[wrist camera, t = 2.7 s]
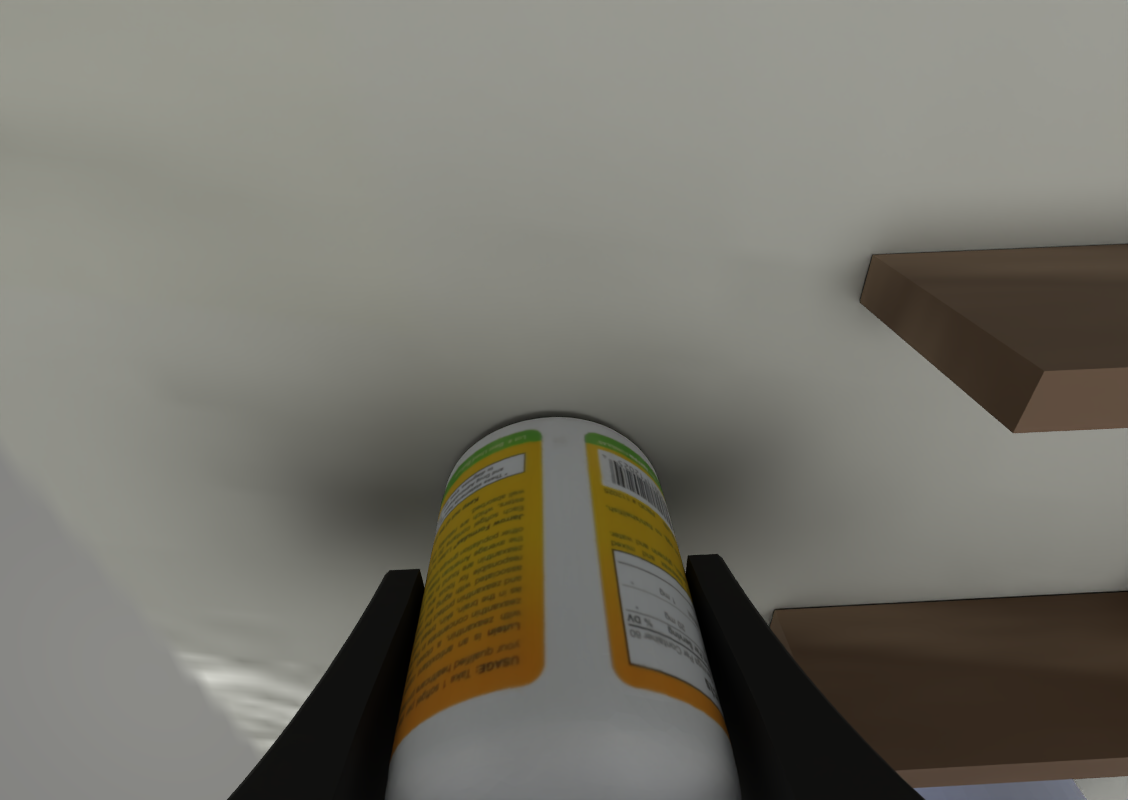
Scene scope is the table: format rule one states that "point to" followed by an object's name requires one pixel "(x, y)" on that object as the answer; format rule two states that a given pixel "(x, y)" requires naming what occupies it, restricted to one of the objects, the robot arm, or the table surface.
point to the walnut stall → (1004, 625)
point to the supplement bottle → (558, 634)
